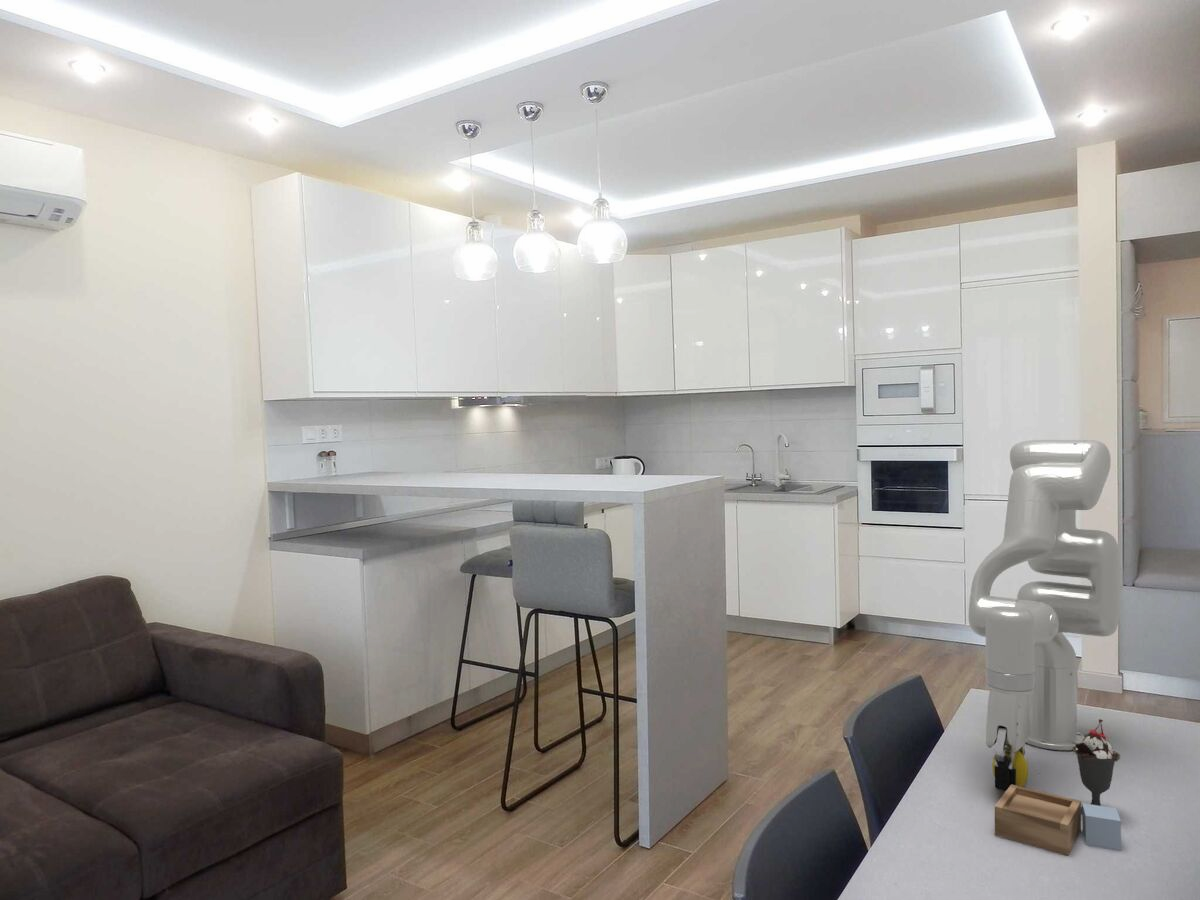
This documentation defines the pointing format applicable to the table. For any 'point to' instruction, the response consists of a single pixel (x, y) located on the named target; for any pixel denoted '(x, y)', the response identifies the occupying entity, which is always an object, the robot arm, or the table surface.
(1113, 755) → the sundae
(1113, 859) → the table surface
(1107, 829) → the slate cube
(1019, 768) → the lemon
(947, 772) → the table surface
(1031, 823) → the wooden open box
